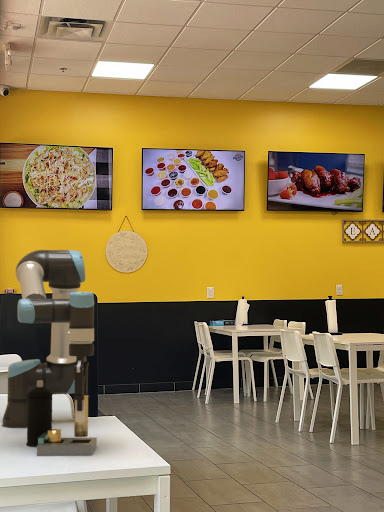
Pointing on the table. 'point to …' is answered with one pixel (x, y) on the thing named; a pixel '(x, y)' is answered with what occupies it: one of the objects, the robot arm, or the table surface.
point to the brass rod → (82, 423)
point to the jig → (64, 445)
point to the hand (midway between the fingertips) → (81, 420)
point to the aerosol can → (38, 413)
